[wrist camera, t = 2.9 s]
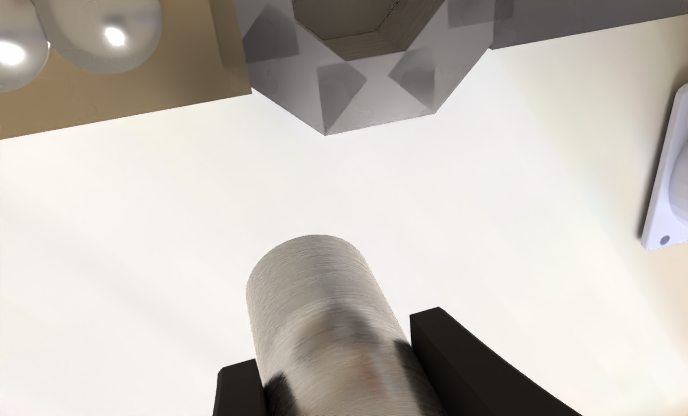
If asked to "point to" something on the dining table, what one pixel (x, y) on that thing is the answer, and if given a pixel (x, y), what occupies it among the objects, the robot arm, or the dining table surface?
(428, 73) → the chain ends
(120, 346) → the dining table surface
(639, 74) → the dining table surface
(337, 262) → the pin
